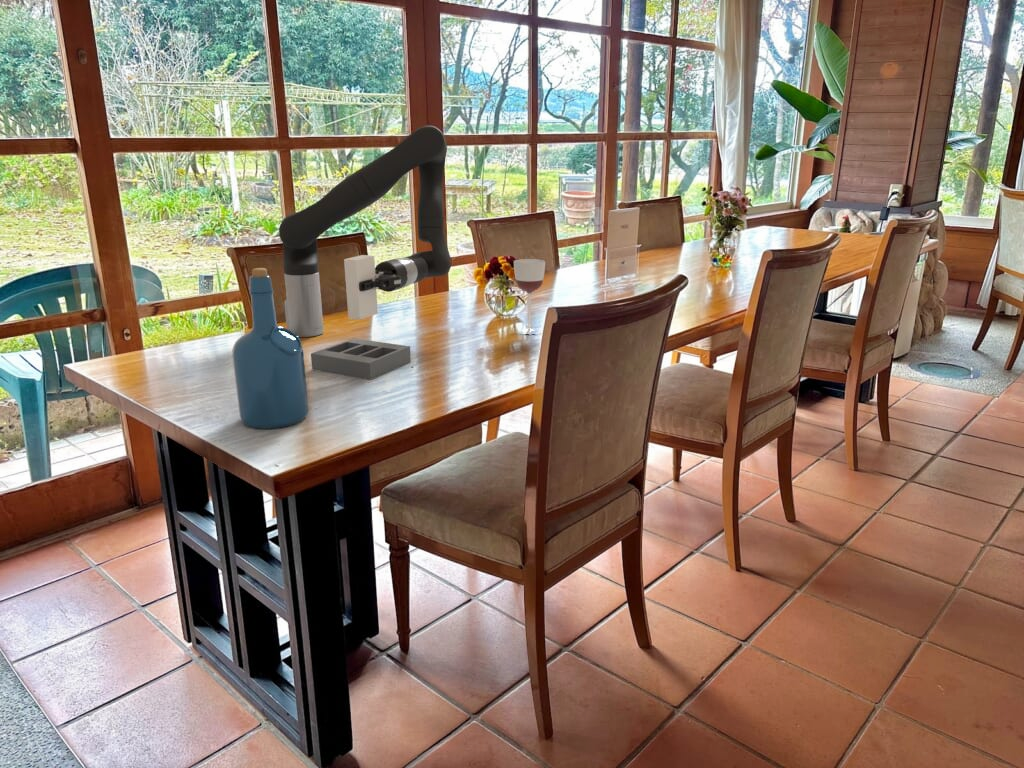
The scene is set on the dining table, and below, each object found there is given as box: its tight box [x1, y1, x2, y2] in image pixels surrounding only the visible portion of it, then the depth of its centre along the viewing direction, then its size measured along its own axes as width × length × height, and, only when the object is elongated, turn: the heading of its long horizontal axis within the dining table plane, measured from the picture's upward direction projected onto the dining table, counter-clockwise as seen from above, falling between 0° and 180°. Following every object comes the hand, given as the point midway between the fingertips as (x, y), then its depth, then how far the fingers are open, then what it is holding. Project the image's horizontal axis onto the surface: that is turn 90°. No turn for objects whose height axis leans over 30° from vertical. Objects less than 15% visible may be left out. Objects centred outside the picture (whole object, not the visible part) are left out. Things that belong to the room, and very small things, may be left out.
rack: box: [310, 337, 412, 381], centre depth 188 cm, size 17×16×4 cm
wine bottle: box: [231, 267, 310, 430], centre depth 150 cm, size 14×13×30 cm
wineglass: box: [513, 258, 546, 332], centre depth 217 cm, size 8×9×20 cm
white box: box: [343, 254, 379, 321], centre depth 184 cm, size 3×7×14 cm, turn 153°
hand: (353, 286), depth 181 cm, fingers closed on white box, 3 cm apart
